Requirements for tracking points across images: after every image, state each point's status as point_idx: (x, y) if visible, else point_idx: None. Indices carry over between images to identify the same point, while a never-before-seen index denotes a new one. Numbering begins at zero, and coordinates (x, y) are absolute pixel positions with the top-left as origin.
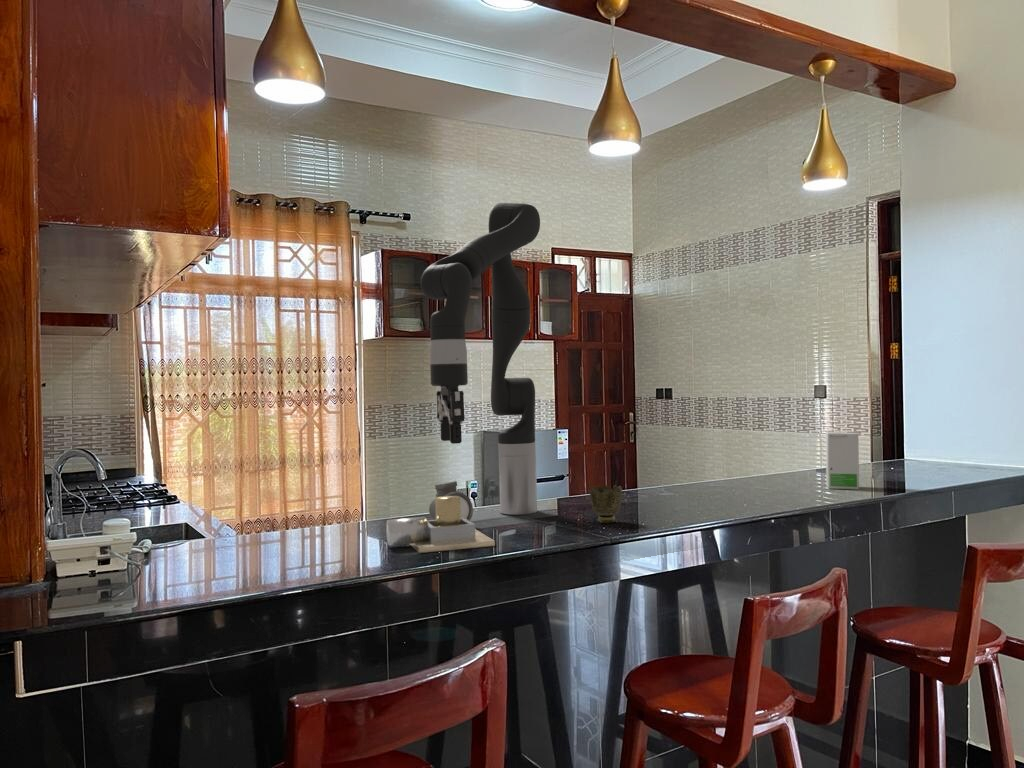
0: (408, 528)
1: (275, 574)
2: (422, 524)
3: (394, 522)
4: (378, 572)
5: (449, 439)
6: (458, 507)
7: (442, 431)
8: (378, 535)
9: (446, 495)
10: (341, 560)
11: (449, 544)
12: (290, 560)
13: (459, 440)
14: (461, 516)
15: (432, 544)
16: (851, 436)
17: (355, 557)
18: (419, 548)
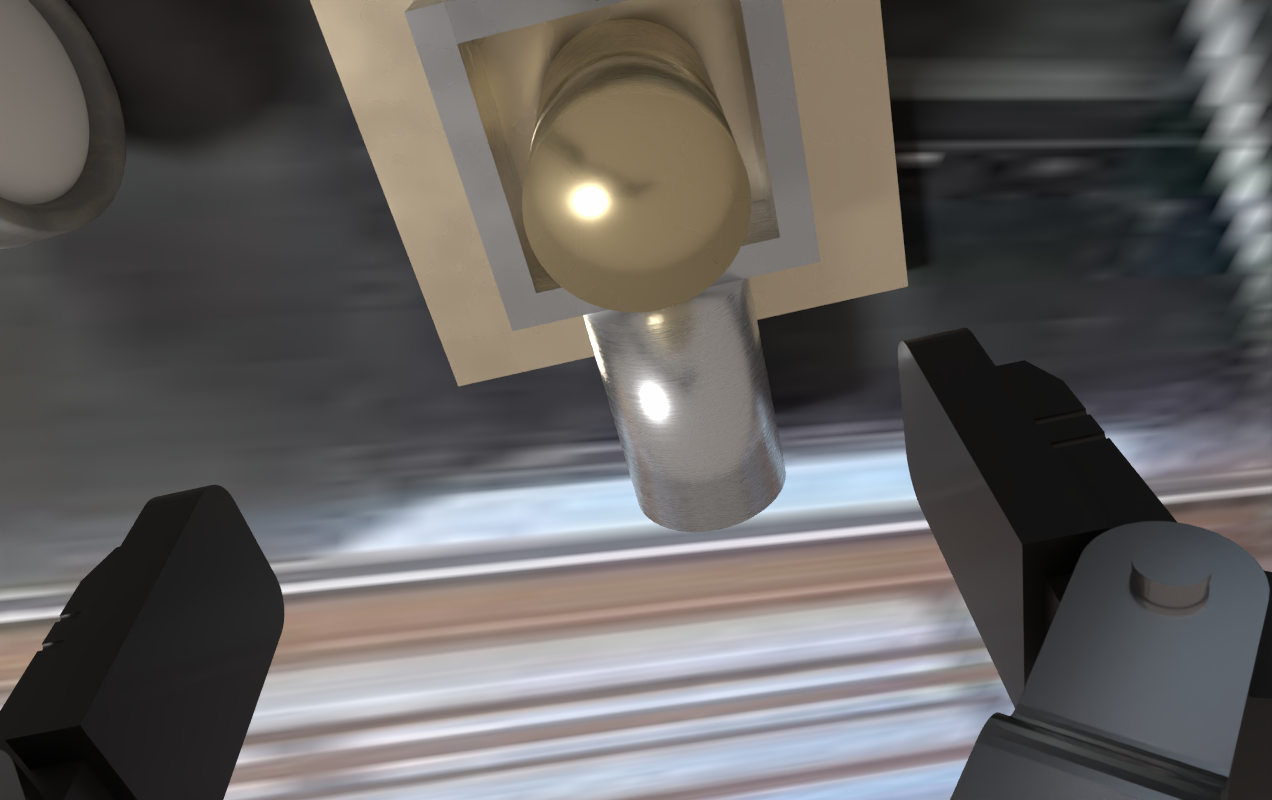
0: (766, 391)
1: None
2: (742, 320)
3: (752, 487)
4: (1259, 429)
5: (230, 514)
6: (694, 90)
7: (235, 715)
8: (315, 509)
9: None
10: (925, 592)
11: (878, 104)
12: (844, 752)
13: (1024, 372)
14: (23, 12)
15: (838, 212)
16: None
17: (882, 549)
18: (907, 281)
